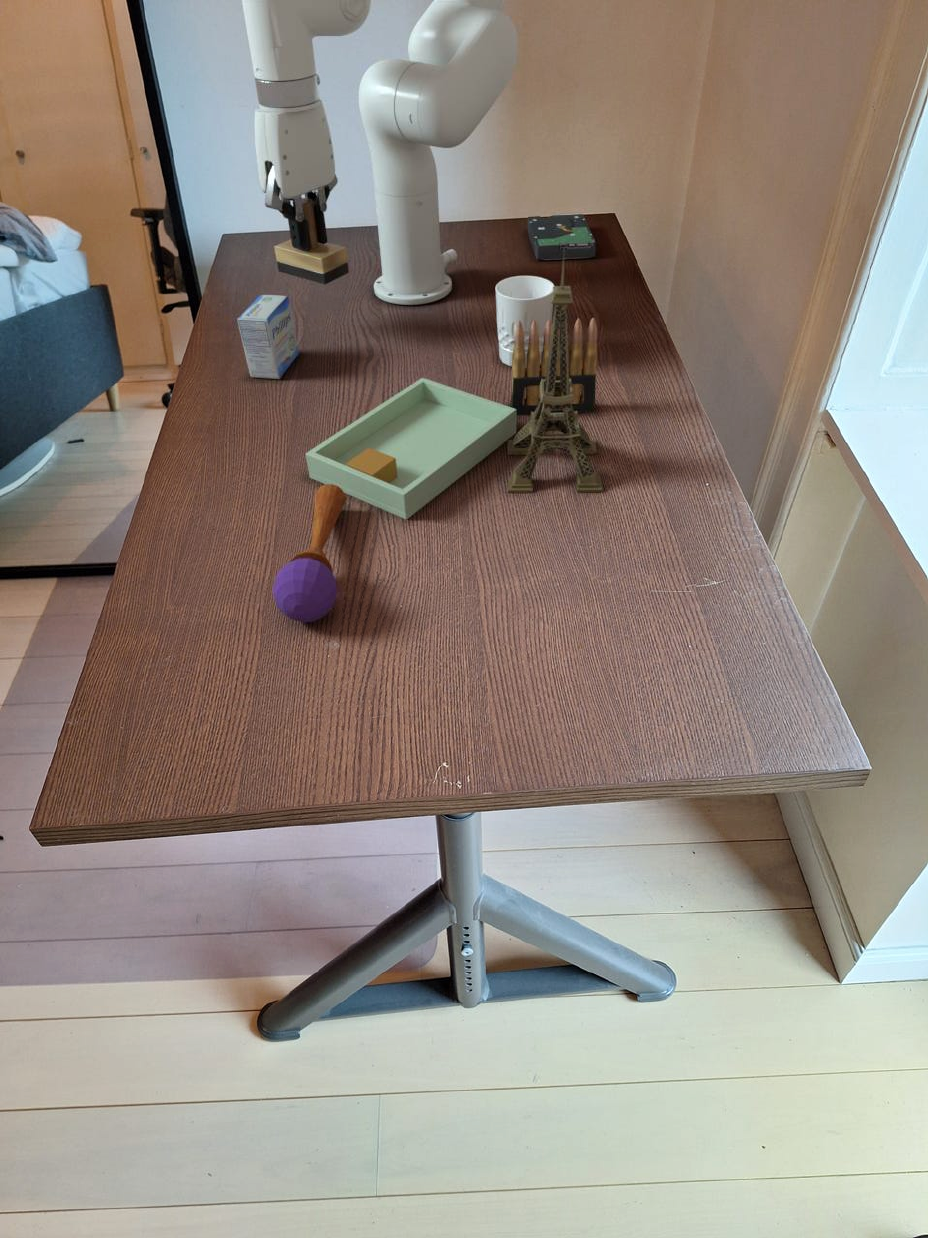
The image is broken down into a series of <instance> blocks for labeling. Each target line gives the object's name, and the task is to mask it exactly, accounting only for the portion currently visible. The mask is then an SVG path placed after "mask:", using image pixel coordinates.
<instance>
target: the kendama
mask: <svg viewBox="0 0 928 1238" xmlns="http://www.w3.org/2000/svg"><path fill="white" fill-rule="evenodd" d="M346 501H347V497H346V493H344V492H343V490H342V489H341V488H339V487H338V486H336V485H333V484H323V485H320V486H319V487H318V489H317V490H316V492H315V495H314V507H313V509H314V510H313V521H312V534H311V544H310V547H309V548H307V549H305V550H303V551H302V552H300V553H297V554H296V555H295V556H294V557H293V558H292V559H291V560H290V562H288V563H286V564H284V565H283V566H282V568H281V569H280V570H279V571H278V572H277V574H276V576H275V580H274V583H273V586H272V594H273V599H274V602H275V605H276V607H277V608H278V609H279V611H280V612H281V613H282V614H283V615H284V616H286V617H287V618H288V619H290V620H293V621H297V622H300V623H312V622H315V621H318V620H321V619H322V618H323V617H325V616H326V615H327V614H328V613H329V612H330V611H331V610H333V608H334V606H335V604H336V603H335V602H336V600H337V598H338V597H337V596H338V591H339V589H338V584H337V580H336V578H335V576H334V572H333V567H332V564H331V563H330V561H329V559H328V557H327V556H326V554H325V552H324V551H323V550H324V548H325V546H326V543H327V541H328V539H329V537H330V535H331V533H332V531H333V529H334V527H335V525H336V523H337V521H338V519H339V516H340V515H341V513H342V510H343V508H344V506H345V504H346Z"/></svg>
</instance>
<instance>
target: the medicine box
mask: <svg viewBox="0 0 928 1238" xmlns="http://www.w3.org/2000/svg"><path fill="white" fill-rule="evenodd" d="M290 302H291V301H290V298H289V296H287V295H280V294H279V295H278V294H260V295H259V296H258V297H257V298H256V299H255V300H254V302H252V303H251V304H250V305H249V306H248V307H247V308H246V310H245V311H244V312H242V314H241V315H240V316H239V317H238V318H237V324H238V329H239V333H240V338H241V342H242V346H243V351H244V355H245V359H246V364H247V368H248V372H249V376H250V377H251V378H256V379H270V380H281V378H282V377H283V375H284V374H285V372H287V370H288V369H289V367H290V366H291V364H292V363H293V362H294V361H295V359H296V358H297V357H298V356H299V348H298V347H299V346H298V342H297V335H296V332H295V331H296V330H295V325H294V320H293V314H292V308H291V303H290Z"/></svg>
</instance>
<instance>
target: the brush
mask: <svg viewBox="0 0 928 1238" xmlns="http://www.w3.org/2000/svg"><path fill="white" fill-rule="evenodd" d="M302 205H303V214H304V219H305V220H307V221H308V225H309V232H310V239H311V246H312V248H311V250H310V251H304V250H300V249H297V248H294V247H293V246H292V242H291V238H290V239H287V240H286V241H283V242H281V243H278V244H276V245H274V246H273V248H274V253H275V259H276V264H277V265H276V266H277V270H278V272H280V273H283V274H287V275H290V276H294V277H297V278H301V279H304V280H308V281H310V282H311V281H312V282H315V283H318V284H322V285H328V284H329V283H331V282H333V281H335V280H337V279H339V278H342V277H343V276H345V275H348V274H349V273H350V271H349V260H348V252H347V247H346V246H342V245H337V244H334V243H330V242H327V243H325V244H321V243H318V238H317V231H316V224H315V216H314V209H313V202H312V199H309V198H305V197H302Z"/></svg>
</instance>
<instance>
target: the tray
mask: <svg viewBox="0 0 928 1238" xmlns="http://www.w3.org/2000/svg"><path fill="white" fill-rule="evenodd" d="M516 411H517V410H516V409H514V408H511V407H510V406H508V405H505V404H502V403H500V402H496V401H493V400H491V399H487V398H484V397H481V396H478V395H476V394H472V393H469V392H466V391H465V390H464V391H463V390H460V389H458V388H455V387H452V386H448V385H446V384H443V383H439V382H438V381H434V380H431V379H428V378H425V377H421V378H419V379H418V380H416V381H415V382H413V383H412V384H410V385H408V386H407V387H405V388H404V389H402V390H401V391H399V392H398V393H397V394H395V395H393V396H392V397H390V398H388V399H387V400H386V401H384V402H382V403H381V404H379V405H378V406H376V407H375V408H373V409H372V410H370V411H369V412H367V413H365V414H364V415H362V416H360V418H358V419H356V420H355V421H353V422H352V423H349V424H348V425H347V426H346V427H344V428H343V429H341V430H339V431H338V432H336V433H335V434H333V435H332V436H330V437H329V438H327V439H326V440H324V441H322V442H321V443H319V444H318V445H316V446H315V447H313V448H311V449H309V451H307V452H305V459H306V464H307V470H308V476H309V478H310V479H312V480H314V481H317V482H318V483H321V484H323V485H325V484H333V485H336V486H338V487H339V488H341V489H342V490H343V492H344V493H345V495H349V496H351V497H353V498H355V499H357V500H360V501H362V502H364V503H367V504H370V505H371V506H374V507H376V508H379V509H381V510H383V511H385V512H387V513H390V514H392V515H394V516H397V517H399V518H401V519H403V520H408V519H410V518H411V517H412V516H413V515H415V514H416V513H417V512H418V511H419V510H421V509H422V508H423V507H425V506H426V505H427V504H428V503H430V502H431V501H432V500H433V499H435V498H437V496H439V494H441V493H442V492H444V491H445V490H446V489H447V488H449V487H450V486H451V485H452V484H454V483H455V482H456V481H457V480H459V479H460V478H461V477H463V476H464V475H465V474H466V473H467V472H469V471H470V470H471V469H473V468H474V467H475V466H477V464H479V463H480V462H482V461H483V460H484V459H485V458H486V457H488V456H489V455H490V454H491V453H493V452H494V451H496V450H497V449H499V447H500V446H502V445H503V444H504V443H505V442H508V440H510V439H511V438H513V436H515V435H516V434H517V415H516ZM368 448H371V449H373V450H376V451H379V452H381V453H384V454H386V455H389V456H391V457H394V458H396V467H397V477H396V478H395V479H394V480H392V481H391V482H390V483H387V482H384V481H382V480H379V479H377V478H375V477H372V476H370V475H367V474H365V473H363V472H360V471H358V470H355V469H353V468H351V467H348V466H346V463H348V462H349V461H351V460H352V459H353V458H355V457H356V456H358V455H359V454H361V453H362V452H364V451H365V450H366V449H368Z"/></svg>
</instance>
